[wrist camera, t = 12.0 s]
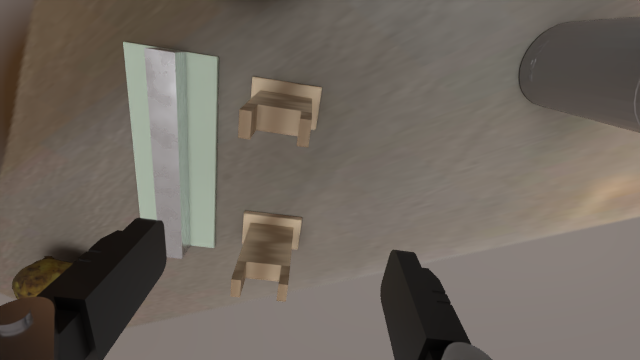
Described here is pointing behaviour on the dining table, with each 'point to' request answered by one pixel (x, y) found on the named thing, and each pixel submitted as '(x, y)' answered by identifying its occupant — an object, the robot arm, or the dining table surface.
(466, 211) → the dining table surface
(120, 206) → the dining table surface
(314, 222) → the dining table surface
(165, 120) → the rail
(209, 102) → the mat
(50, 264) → the potato
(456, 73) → the dining table surface
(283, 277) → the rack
